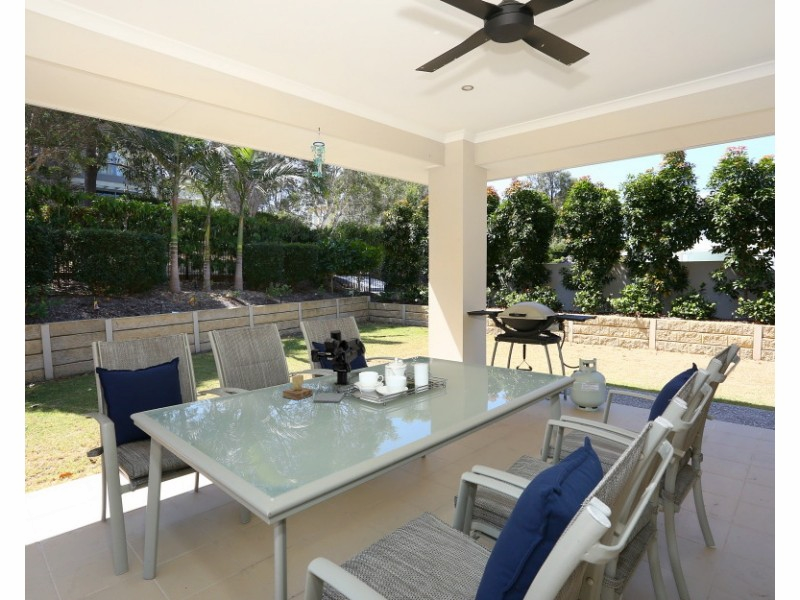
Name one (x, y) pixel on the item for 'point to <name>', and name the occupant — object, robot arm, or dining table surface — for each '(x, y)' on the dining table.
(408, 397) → the dining table surface
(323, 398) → the mat
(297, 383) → the t key
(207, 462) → the dining table surface
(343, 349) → the robot arm
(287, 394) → the slot block
